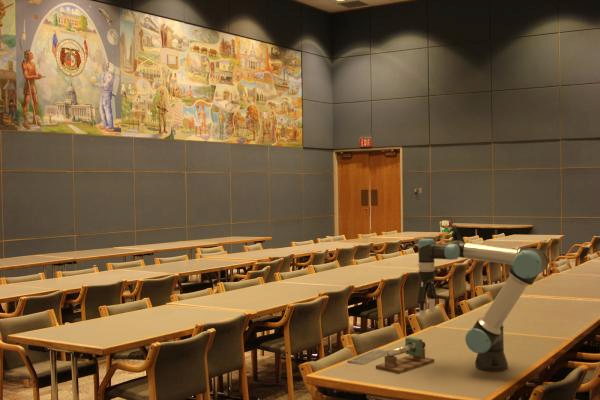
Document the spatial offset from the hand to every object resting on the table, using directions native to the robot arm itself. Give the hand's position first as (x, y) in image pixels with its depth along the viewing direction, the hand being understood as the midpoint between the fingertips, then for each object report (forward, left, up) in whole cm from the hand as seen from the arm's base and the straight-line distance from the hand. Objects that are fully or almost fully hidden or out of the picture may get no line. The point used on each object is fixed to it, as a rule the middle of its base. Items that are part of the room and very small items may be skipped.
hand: (427, 314), depth 333 cm
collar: (-2, -10, -21) cm, 24 cm away
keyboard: (+4, -34, -26) cm, 43 cm away
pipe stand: (+5, -10, -26) cm, 28 cm away
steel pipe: (+5, -10, -19) cm, 22 cm away
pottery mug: (-20, -24, -26) cm, 40 cm away
